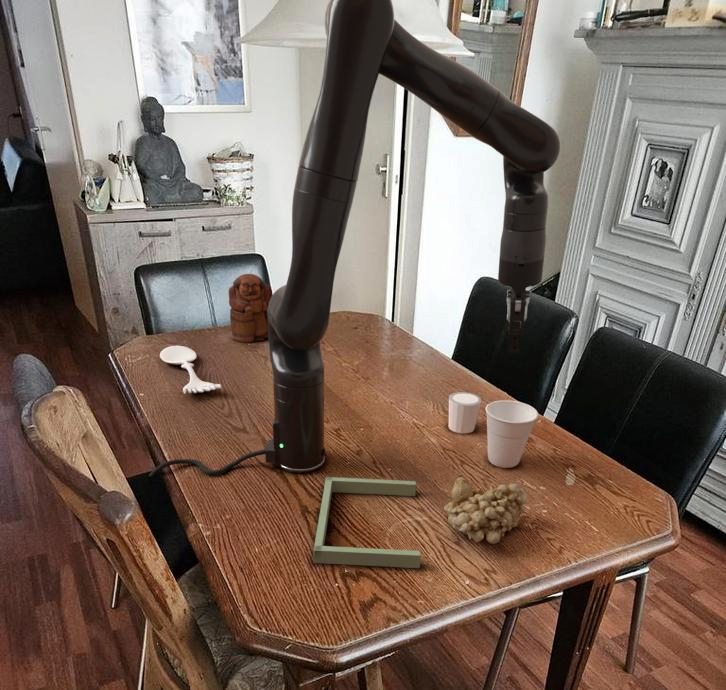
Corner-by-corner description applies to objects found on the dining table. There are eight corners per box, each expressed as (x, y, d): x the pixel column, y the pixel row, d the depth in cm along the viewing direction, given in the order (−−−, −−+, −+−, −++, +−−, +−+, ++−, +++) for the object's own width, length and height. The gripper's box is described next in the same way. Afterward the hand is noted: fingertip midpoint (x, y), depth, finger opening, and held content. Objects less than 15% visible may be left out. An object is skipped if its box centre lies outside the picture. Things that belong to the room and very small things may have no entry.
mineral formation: (528, 518, 108) (510, 564, 96) (453, 510, 114) (426, 551, 101) (529, 476, 105) (510, 517, 93) (452, 469, 110) (424, 507, 98)
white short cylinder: (476, 436, 134) (480, 406, 130) (444, 432, 135) (447, 402, 131) (477, 422, 139) (482, 393, 136) (447, 419, 140) (450, 390, 137)
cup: (518, 479, 119) (528, 427, 114) (470, 464, 124) (477, 413, 118) (535, 458, 127) (545, 408, 121) (489, 444, 131) (497, 395, 125)
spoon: (184, 404, 142) (183, 390, 141) (157, 356, 166) (155, 344, 165) (224, 398, 146) (222, 384, 144) (191, 352, 170) (190, 340, 168)
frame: (313, 563, 96) (313, 550, 95) (325, 488, 114) (326, 476, 113) (419, 568, 96) (420, 555, 95) (414, 492, 114) (416, 481, 113)
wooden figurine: (236, 344, 176) (231, 279, 167) (230, 337, 181) (225, 273, 172) (276, 339, 181) (274, 275, 171) (270, 332, 186) (267, 270, 176)
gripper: (501, 243, 115) (495, 328, 124) (498, 266, 103) (491, 358, 113) (543, 243, 113) (534, 329, 122) (545, 266, 102) (535, 359, 111)
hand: (514, 343), depth 117 cm, fingers open, 8 cm apart
